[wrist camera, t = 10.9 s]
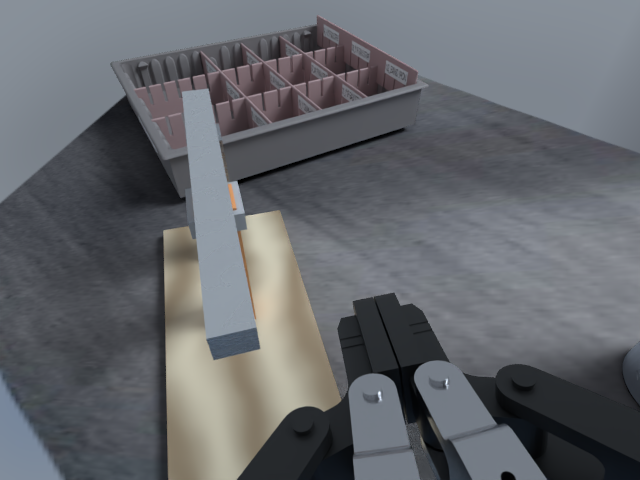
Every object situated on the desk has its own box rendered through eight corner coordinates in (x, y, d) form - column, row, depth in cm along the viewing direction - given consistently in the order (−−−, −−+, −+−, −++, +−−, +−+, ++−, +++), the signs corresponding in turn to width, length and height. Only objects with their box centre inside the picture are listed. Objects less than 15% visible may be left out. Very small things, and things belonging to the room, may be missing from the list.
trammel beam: (236, 220, 50) (211, 88, 39) (282, 447, 32) (262, 325, 20) (211, 225, 50) (178, 91, 38) (243, 458, 31) (199, 340, 20)
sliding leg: (255, 290, 42) (236, 178, 32) (262, 322, 40) (244, 211, 30) (215, 298, 41) (184, 187, 32) (220, 331, 39) (187, 220, 29)
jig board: (280, 216, 52) (279, 209, 52) (360, 465, 32) (361, 460, 31) (165, 236, 50) (163, 230, 49) (172, 523, 29) (168, 519, 28)
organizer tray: (125, 108, 73) (105, 49, 66) (321, 63, 87) (322, 12, 80) (178, 211, 53) (157, 144, 46) (420, 132, 68) (432, 71, 61)
